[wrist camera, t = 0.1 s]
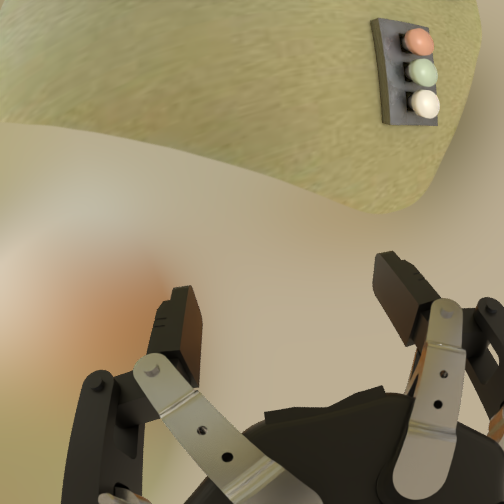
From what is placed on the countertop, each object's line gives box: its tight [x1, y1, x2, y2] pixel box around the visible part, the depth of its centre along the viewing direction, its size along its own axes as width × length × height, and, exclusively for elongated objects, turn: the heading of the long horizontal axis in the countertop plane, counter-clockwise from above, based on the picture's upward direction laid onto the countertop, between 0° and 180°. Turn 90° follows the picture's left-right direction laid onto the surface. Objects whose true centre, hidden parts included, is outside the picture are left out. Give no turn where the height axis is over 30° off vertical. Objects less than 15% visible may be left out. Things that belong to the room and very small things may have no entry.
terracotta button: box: [401, 28, 434, 56], centre depth 26 cm, size 4×4×4 cm
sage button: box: [405, 59, 438, 87], centre depth 28 cm, size 4×4×4 cm
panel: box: [371, 18, 438, 126], centre depth 31 cm, size 16×9×2 cm, turn 8°
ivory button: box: [407, 90, 440, 119], centre depth 31 cm, size 4×4×4 cm
